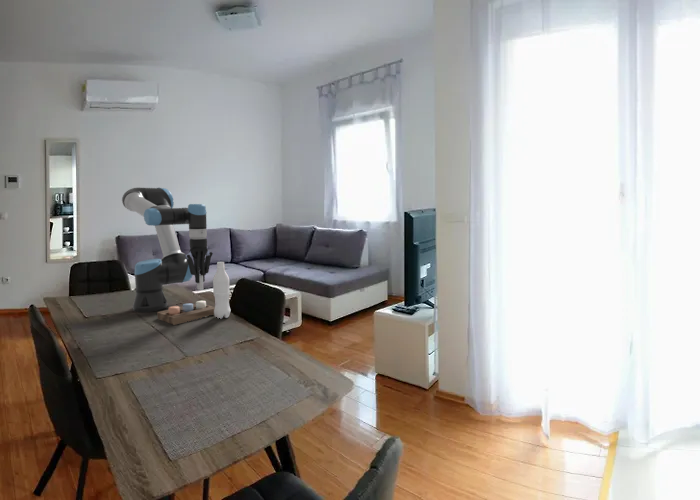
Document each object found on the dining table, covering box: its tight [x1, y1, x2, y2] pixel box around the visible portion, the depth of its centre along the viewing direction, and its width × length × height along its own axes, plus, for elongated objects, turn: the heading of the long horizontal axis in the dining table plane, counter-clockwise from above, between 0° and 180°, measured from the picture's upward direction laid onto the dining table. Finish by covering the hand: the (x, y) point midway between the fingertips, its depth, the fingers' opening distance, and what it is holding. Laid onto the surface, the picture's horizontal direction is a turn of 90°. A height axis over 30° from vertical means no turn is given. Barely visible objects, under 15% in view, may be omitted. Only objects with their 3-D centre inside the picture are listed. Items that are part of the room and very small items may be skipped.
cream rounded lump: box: [195, 300, 207, 309], centre depth 191 cm, size 4×4×4 cm
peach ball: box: [167, 305, 180, 316], centre depth 181 cm, size 4×4×4 cm
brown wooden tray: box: [156, 303, 215, 326], centre depth 186 cm, size 14×21×3 cm, turn 142°
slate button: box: [182, 302, 194, 312], centre depth 186 cm, size 4×4×4 cm
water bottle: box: [212, 261, 231, 320], centre depth 184 cm, size 7×7×25 cm
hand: (200, 289), depth 190 cm, fingers closed
